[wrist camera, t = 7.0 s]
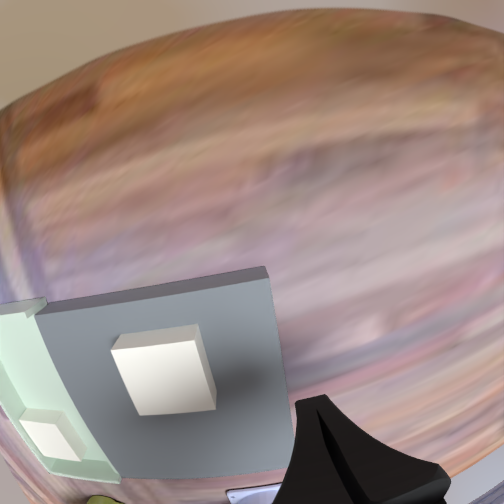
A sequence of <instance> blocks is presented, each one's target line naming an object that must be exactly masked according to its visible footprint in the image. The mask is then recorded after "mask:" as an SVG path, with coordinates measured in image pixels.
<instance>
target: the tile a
mask: <svg viewBox="0 0 504 504" xmlns="http://www.w3.org/2000/svg"><path fill="white" fill-rule="evenodd" d="M19 421H20V423H21V424H22V426H23V427H24V429H25V430H26V432H27V433H28V435H29V436H30V438H31V439H32V441H33V442H34V443H35V445H36V446H37V447H38V449H39V450H40V452H41V453H42V454H43V455H44V456H47V457H53V458H59V459H65V460H72V461H80V462H81V461H82V458H83V456H84V454H85V452H86V449H87V447H86V446H85V444H84V443H83V441H82V440H81V438H80V437H79V435H78V433H77V432H76V430H75V429H74V427H73V426H72V424H71V422H70V421H69V419H68V417H67V416H66V414H65V412H64V411H59V410H45V409H33V408H27V409H26V410H25V411H24V413H23V414H22V416H21V417H20V418H19Z"/></svg>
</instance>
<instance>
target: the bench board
mask: <svg viewBox="0 0 504 504" xmlns="http://www.w3.org/2000/svg"><path fill="white" fill-rule="evenodd" d="M34 318H35V321H36V323H37V326H38V329H39V331H40V334H41V336H42V338H43V341H44V343H45V346H46V348H47V350H48V353H49V355H50V357H51V359H52V361H53V364H54V366H55V368H56V370H57V372H58V374H59V376H60V378H61V380H62V382H63V384H64V386H65V388H66V390H67V392H68V394H69V396H70V398H71V399H72V401H73V403H74V405H75V407H76V409H77V410H78V412H79V414H80V415H81V417H82V419H83V421H84V422H85V424H86V426H87V427H88V429H89V431H90V432H91V434H92V435H93V437H94V438H95V440H96V442H97V443H98V445H99V446H100V448H101V449H102V451H103V452H104V454H105V455H106V456H107V458H108V459H109V461H110V462H111V464H112V465H113V466H114V468H115V469H116V471H117V472H118V473H119V475H120V476H121V477H122V478H138V479H193V478H210V477H223V476H233V475H242V474H250V473H257V472H264V471H270V470H276V469H281V468H287V467H288V466H289V463H290V459H291V456H292V452H293V447H294V442H295V440H294V433H293V426H292V419H291V413H290V406H289V399H288V393H287V386H286V380H285V373H284V367H283V360H282V354H281V347H280V341H279V335H278V328H277V322H276V316H275V310H274V304H273V297H272V291H271V285H270V279H269V276H268V273H267V271H266V268H265V266H261V267H255V268H250V269H245V270H239V271H234V272H228V273H223V274H217V275H211V276H206V277H200V278H195V279H189V280H183V281H178V282H172V283H166V284H160V285H154V286H149V287H143V288H137V289H131V290H125V291H119V292H113V293H107V294H101V295H95V296H89V297H82V298H76V299H70V300H64V301H57V302H51V303H49V304H48V305H47V306H45V307H44V308H43V309H41V310H40V311H39V312H38V313H36V314H35V315H34ZM193 324H198V326H199V330H200V334H201V337H202V341H203V345H204V348H205V352H206V355H207V359H208V362H209V366H210V369H211V373H212V376H213V379H214V383H215V386H216V389H217V395H216V410H208V411H198V412H188V413H176V414H162V415H141V416H140V415H139V413H138V411H137V409H136V407H135V405H134V403H133V401H132V399H131V397H130V395H129V392H128V390H127V388H126V386H125V384H124V381H123V379H122V377H121V374H120V372H119V370H118V367H117V365H116V363H115V360H114V358H113V355H112V353H111V349H112V347H113V346H114V344H115V342H116V341H117V339H118V338H119V336H120V335H121V334H128V333H136V332H144V331H151V330H159V329H166V328H173V327H180V326H186V325H193Z"/></svg>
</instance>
